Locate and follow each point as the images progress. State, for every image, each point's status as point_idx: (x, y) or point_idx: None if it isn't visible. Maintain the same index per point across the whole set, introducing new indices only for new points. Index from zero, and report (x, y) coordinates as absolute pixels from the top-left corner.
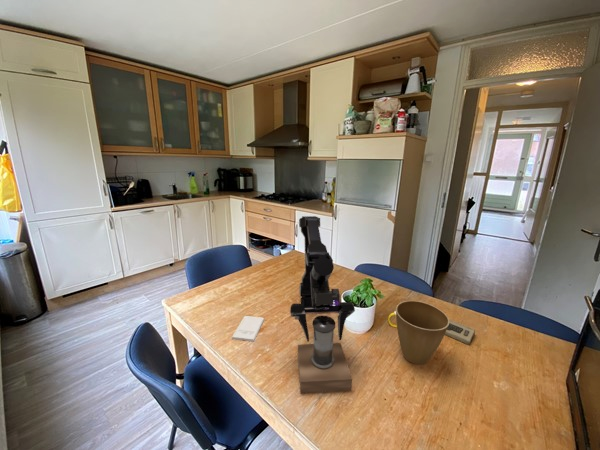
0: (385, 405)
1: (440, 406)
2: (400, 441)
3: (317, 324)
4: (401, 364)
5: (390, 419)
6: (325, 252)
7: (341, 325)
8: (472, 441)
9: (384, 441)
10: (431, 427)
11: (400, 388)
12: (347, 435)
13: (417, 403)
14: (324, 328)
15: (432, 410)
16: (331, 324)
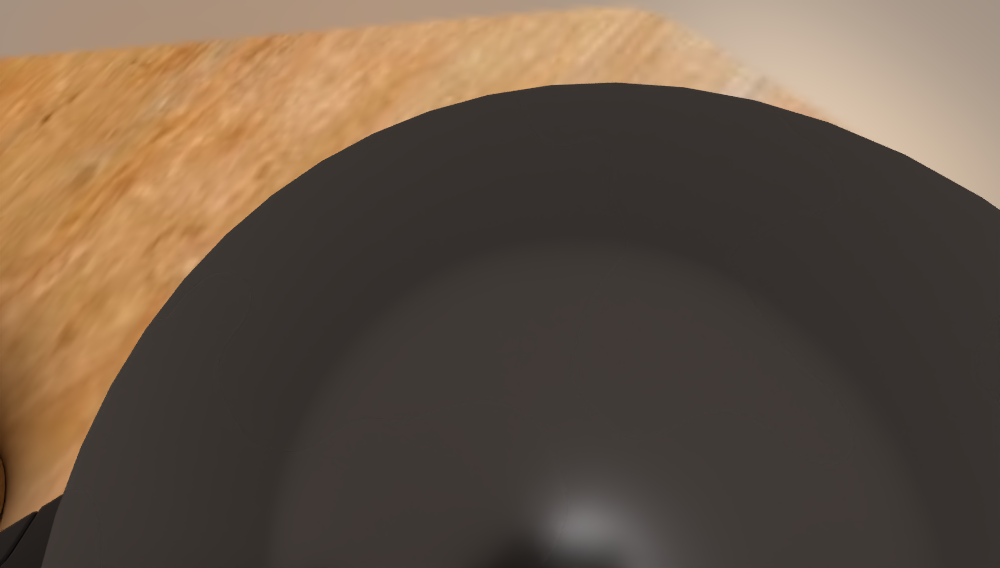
0: (281, 184)
1: (59, 184)
2: (299, 41)
3: (981, 477)
4: (58, 443)
5: (292, 121)
6: None
7: (32, 553)
8: (61, 61)
9: (359, 37)
10: (155, 98)
11: (162, 276)
12: (506, 46)
13: (138, 196)
14: (594, 159)
15: (102, 165)
16: (238, 422)
